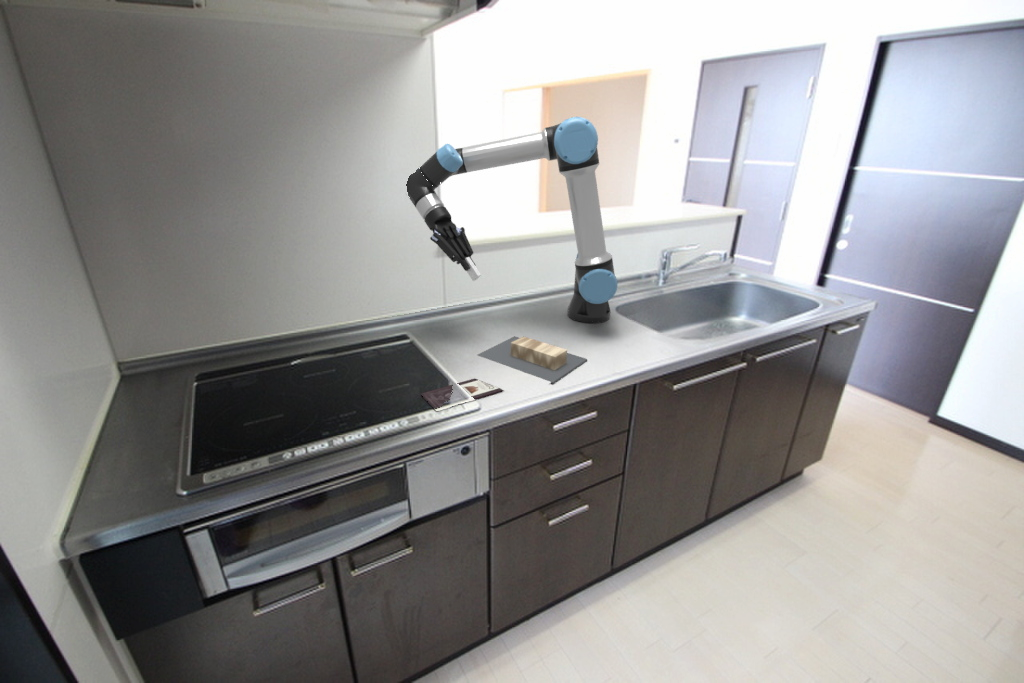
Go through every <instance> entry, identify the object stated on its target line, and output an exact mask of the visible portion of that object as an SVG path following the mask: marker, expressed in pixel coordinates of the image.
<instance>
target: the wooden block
mask: <svg viewBox="0 0 1024 683" xmlns="http://www.w3.org/2000/svg"><path fill="white" fill-rule="evenodd" d="M567 353H568V349H566V348H563V347H559V346H555V345H552V344H549V343H547V342H543V341H540V340H536V339H533V338H530V337H526V336H524V335H523V336H522V337H519V339H517V340H515V341H513V342H511V356H514V357H517V358H520V359H523V360H526V361H529V362H531V363H534V364H537V365H540V366H543V367H546V368H549V369H552V370H556V369H558V368H559V367H561V366H562V365H564V364H565V363H566V360H567Z"/></svg>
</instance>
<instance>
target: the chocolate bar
mask: <svg viewBox="0 0 1024 683" xmlns="http://www.w3.org/2000/svg"><path fill="white" fill-rule="evenodd" d="M457 384H459V385H460V386H461V387H462V388H463V389H464V390H465V391H466V392H467V393H468V394H469V395H470V396H471V397H473V398H474V399H478V400H482V399H484V398H487V397H490V396H494V395H497V394H500V393H501V394H502V393H503V392H504V391H503V389H502V388H500V387H498V386H495V385H493V384H491V383H488V382H485V381H482V380H480V379H477V378H475V377H474V378H471V379H467V380H465V381H460V382H457ZM452 386H453V384H450V385H446V386H442V387H439V388H435V389H433V390H427V391H425V392H422V393H420V396H421V395H422V396H423V397H422V396H421V397H422V398H423V400H425V401H428V403H429V404H430V405H431V406H432V407H433V408H435V409H437V407H438V408H440V407H439V406H441V407H442V405H443V404H445V403H444V402H446V401H445V400H447V402H448V400H450V399H449V398H450V397H451V395H452V393H453V392H452V390H453V389H452ZM451 392H452V393H451ZM446 398H447V399H446ZM428 403H427V404H428ZM442 403H443V404H442ZM429 404H428V405H429ZM430 405H429V406H430ZM431 406H430V407H431ZM432 407H431V408H432ZM433 408H432V409H433Z"/></svg>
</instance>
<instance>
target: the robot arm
mask: <svg viewBox="0 0 1024 683" xmlns="http://www.w3.org/2000/svg"><path fill="white" fill-rule="evenodd" d="M598 136H599V135H598V132H597V129H596V127H595V125H594V124H593V123H592V122H591V121H590V120H589V119H587V118H584V117H582V116H574V117H573V116H572V117H570V118H569V117H568V118H567V119H564V120H563V121H562V122H560V123H558V124H555V125H552V126H548V127H544V128H543V129H542V131H540V132H536V133H531V134H524V135H519V136H515V137H510V138H504V139H500V140H494V141H489V142H484V143H480V144H474V145H470V146H463V147H459V148H455V147H454V146H452V145H451V144H450V143H445V144H444V145H443V146H442V147H440V148H437V151H436V152H434V153H433V154H432V155H431V156H430V157H429V158H428V159H427V160H426V161H425V162H424V163H423V164H422V166H421V165H420V166H421V167H420V166H419V167H420V169H419V168H418V169H417V170H416V172H415V173H413V174H411V175H410V176H409V178H408V181H407V184H406V186H407V192H408V196H409V197H410V198H409V197H408V196H407V197H408V198H409V200H410V201H411V203H412V205H413V206H414V207H415V209H416V210H417V212H418V213H419V215H420V216H421V218H422V219H423V220H424V221H423V222H424V223H425V225H426V226H427V228H428V229H429V230H430V231H432V234H431V236H430V237H429V239H430V241H432V242H434V244H436V245H437V246H438V247H439V249H440V250H442V252H443V253H444V254H445V255H446V256H447V257H448V258H449V259H450V261H452V262H453V263H456V264H457V265H461V267H462V268H463V270H464V271H465V272H467V274H468V276H469V277H470V279H471V280H472V281H473V282H475V281H477V280H478V278H480V277H481V275H482V274H481V272H480V271H479V269H478V267H477V266H476V264H475V262H474V260H473V259H472V256H473V255H474V251H473V248H472V246H471V244H470V241H469V239H468V237H467V235H466V232H465V231H466V229H465V228H464V226H462V227H457V225H456V224H455V223H454V222H453V221H452V216H451V214H450V212H449V210H448V209H447V207H445V204H444V203H443V201H442V200H441V198H440V196H438V194H437V193H436V191H435V190H436V189H437V188H439V186H440V185H441V184H443V183H444V182H445V181H446V180H448V179H449V178H450V177H453V176H456V175H457V176H458V175H461V174H467V173H471V172H477V171H481V170H483V171H484V170H488V169H492V168H493V169H494V168H497V167H498V168H499V167H505V166H509V165H514V164H519V163H526V162H530V161H537V160H542V159H546V160H548V161H556V160H557V166H558V171H559V174H560V175H562V176H563V177H564V178H565V183H566V189H567V193H568V200H569V206H570V212H571V219H572V224H573V225H572V226H573V231H574V237H575V244H576V248H577V254H576V259H575V261H574V266H575V274H574V286H573V294H572V297H571V299H570V302H569V305H568V307H567V313H566V315H567V317H568V316H569V317H568V318H570V319H571V320H573V321H576V320H577V322H581V323H586V324H587V323H588V324H599V323H603V322H607V321H608V320H610V318H611V308H610V302H609V301H610V300H611V299H612V298H613V297H615V295H616V293H617V290H618V279H617V277H616V275H615V268H614V262H613V261H614V260H613V255H612V254H611V253H609V252H608V251H607V249H606V248H607V247H606V242H605V241H606V240H605V233H604V232H605V231H604V226H603V219H602V212H601V205H600V204H601V203H600V196H599V190H598V184H597V177H596V176H597V175H596V170H597V168H598V167H599V165H600V159H599V151H598V150H599V149H598V143H599V137H598ZM421 172H422V173H421ZM423 175H424V176H423ZM426 179H427V180H428V181H427V180H426ZM440 182H441V184H440ZM432 185H433V186H432Z"/></svg>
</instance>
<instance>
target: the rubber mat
mask: <svg viewBox="0 0 1024 683" xmlns="http://www.w3.org/2000/svg"><path fill="white" fill-rule="evenodd" d="M519 338H520V337H519V336H512V337H510V338H509V339H508V338H507V339H506V340H504V341H502V342H499V343H498V344H496V345H494V346H492V347H490V348H488V349H486V350H484V351H482V352H480V353H478V354H477V356H478V357H481V358H484V359H487V360H489V361H493V362H495V363H498V364H500V365H503V366H506V367H509V368H512V369H514V370H516V371H520V372H523V373H525V374H528V375H530V376H534V377H537V378H538V379H539V378H540V379H542V380H545V381H548V382H549V383H551V385H555V382H556V383H557V382H559V381H560V380H561V378H563V379H564V377H566V376H567V375H569V374H570V373H572V372H573V371H575V370H576V369H577V367H578V368H579V367H581V365H583V364H585V363H586V362H588V358H586V357H582V356H579V355H576V354H573V353H569V352H567V360H566V363H565V364H564V365H562V366H561V367H559V368H558V369H556V370H552V369H549V368H546V367H543V366H540V365H537V364H534V363H531V362H529V361H526V360H523V359H520V358H517V357H514V356H511V342H513V341H515V340H517V339H519ZM574 369H575V370H574ZM568 373H569V374H568ZM558 380H559V381H558Z"/></svg>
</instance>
